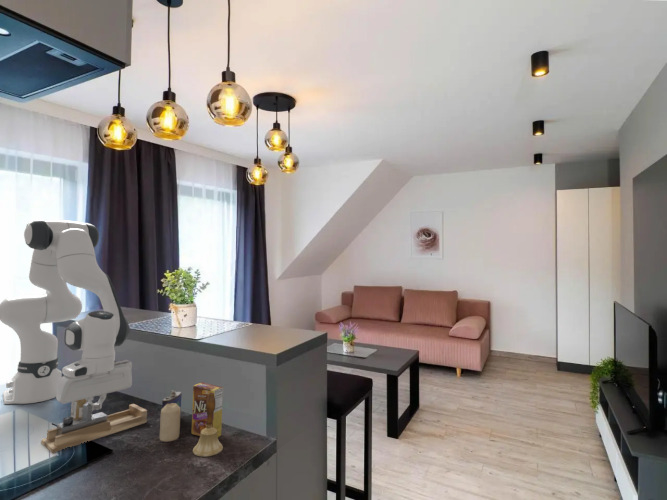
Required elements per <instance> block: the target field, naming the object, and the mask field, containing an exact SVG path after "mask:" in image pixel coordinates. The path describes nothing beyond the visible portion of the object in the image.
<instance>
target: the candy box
mask: <svg viewBox="0 0 667 500" xmlns="http://www.w3.org/2000/svg"><path fill="white" fill-rule="evenodd" d="M209 393H214V397H215V410H214V413H213V424H212V427H213V428H215V429H216V430H217V437H218V438H220V437H221V436H222V424H223V423H222V420H223V400H224V386H220V385H215V384H211V383H206V382H204V381H203V382H199V383H197V384H194V385H193V388H192V408H191V409H192V412H191V413H192V415H191V434H192V435H194V436H198V437H200V434H201V431H202V430H203V429H205V428H206V423H207V411H206V402H207V399H208V396H209Z"/></svg>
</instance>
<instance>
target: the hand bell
mask: <svg viewBox="0 0 667 500" xmlns="http://www.w3.org/2000/svg"><path fill="white" fill-rule="evenodd" d="M214 410H215V397H214V393H209V396H208V399H207V402H206V411H207V423H206V428H205V429H203V430H202V431H201V434H200V436H199V438H198V442H197V444H196V445H195V446H194V447H193V449H192V454H193V455H195V456H198V457H203V458H204V457H205V458H206V457H213V456H215V455H218V454H219V453H221V452H222V451H223V449H224V447H223V444H222V443H221V442H220V441H219V437H217V430H216V429H215V428H213V427H212V424H213V413H214Z"/></svg>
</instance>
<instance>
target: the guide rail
mask: <svg viewBox="0 0 667 500" xmlns="http://www.w3.org/2000/svg"><path fill="white" fill-rule="evenodd" d="M107 415H108V414H107ZM147 416H148V410H147V409H146V408H143V407H141V406H139V405H137V404H135V403H131V404H129V405H128V409H125V410H121V411H118V412H115V413H111V414H109V415H108V417H107V421H106V422H102V423H99V424H96V425H92V426H89V427H85V428H82V429H79V430H75V431H72V432H69V433H65V434H62V435H58V436H56V433H57V427H55V428H51V429H47V430H46V431H47V432H46V437H45V438H42V439H41V440H40V443H41V444H42V445H43V446H44V447H45V448H46V449H48V451H50V452H51V454H54V453H57V452H60V451H63V450H62V449H64V450H66V449H65V448H67V447H70V448H73V447H75V446H79V445H82V444H85V443H88V442H90V441H94V440H97V439H101V438H103V437H106V436H110V435H112V434H116V433H120V432H122V431H125V430H129V429H131V428H134V427H137V426H141V425H144V424H145V423H148V422H147V418H148V417H147ZM87 441H88V442H87ZM84 442H85V443H84ZM81 443H82V444H81ZM72 446H73V447H72ZM67 449H68V448H67Z"/></svg>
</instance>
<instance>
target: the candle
mask: <svg viewBox="0 0 667 500" xmlns="http://www.w3.org/2000/svg"><path fill="white" fill-rule="evenodd" d="M180 410H181V411H182V407H181V408H180V407H179V406H178V405H177V404H176V403H171V404H166V405H165V406H164V407H163V408H162V407H161V409H160V421H159V423H160V424H159V425H160V426H159V441H160V442H167V443H168V442H173V441H176V440H177V439H179V438H180V430H181V429H180V427H181V418H180Z"/></svg>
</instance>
